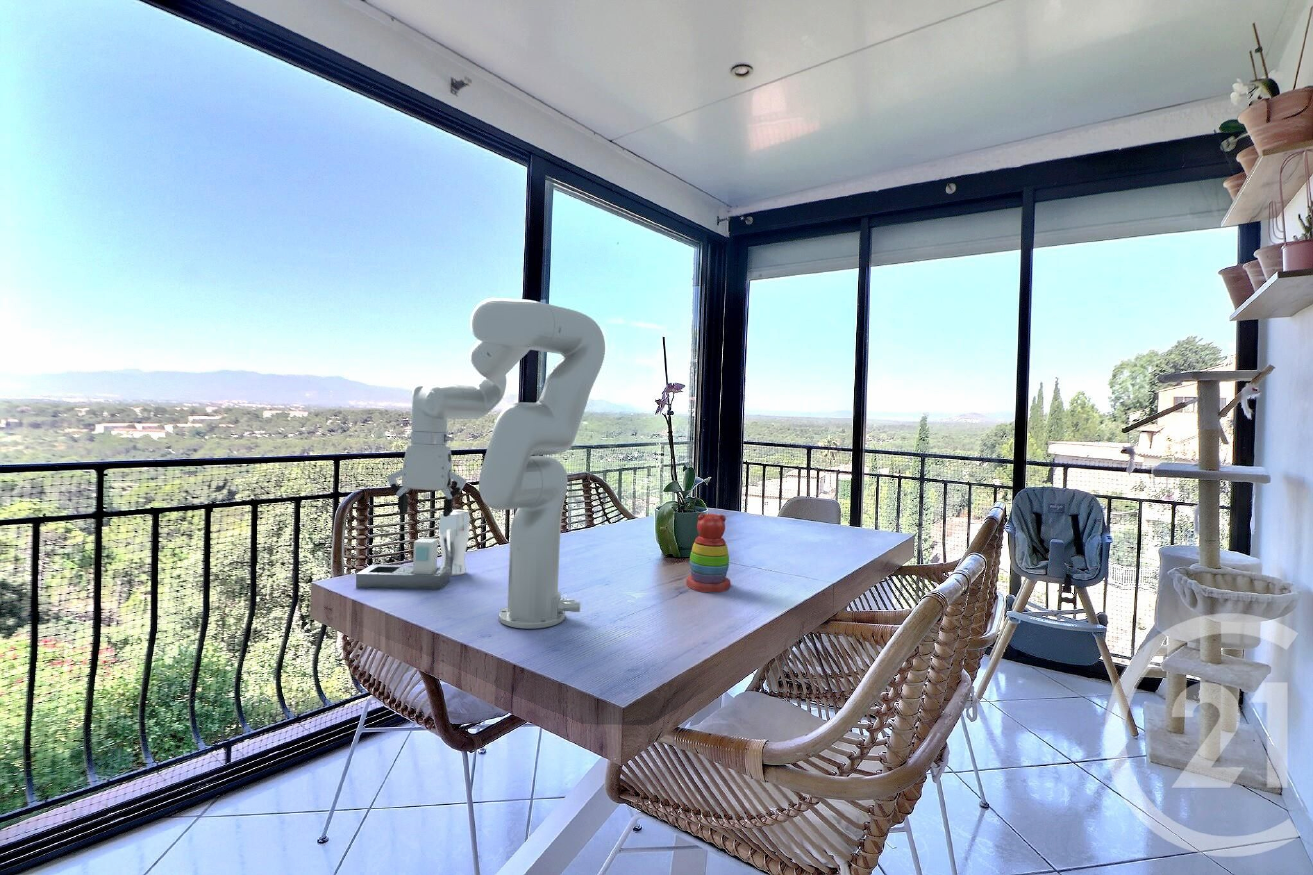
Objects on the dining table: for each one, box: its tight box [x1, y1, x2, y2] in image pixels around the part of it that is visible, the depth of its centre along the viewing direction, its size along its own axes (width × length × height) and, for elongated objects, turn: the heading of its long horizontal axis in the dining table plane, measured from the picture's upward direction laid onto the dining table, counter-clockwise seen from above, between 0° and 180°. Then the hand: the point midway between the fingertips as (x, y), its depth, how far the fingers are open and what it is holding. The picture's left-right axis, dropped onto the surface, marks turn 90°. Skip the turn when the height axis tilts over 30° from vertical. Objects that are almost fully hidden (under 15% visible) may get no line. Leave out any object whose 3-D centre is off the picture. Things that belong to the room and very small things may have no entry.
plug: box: [412, 537, 439, 574], centre depth 135 cm, size 4×5×10 cm
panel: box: [355, 564, 451, 591], centre depth 135 cm, size 18×8×3 cm, turn 93°
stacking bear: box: [685, 513, 732, 593], centre depth 143 cm, size 11×10×18 cm
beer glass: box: [438, 509, 470, 577], centre depth 146 cm, size 7×7×15 cm
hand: (425, 514), depth 135 cm, fingers open, 9 cm apart
